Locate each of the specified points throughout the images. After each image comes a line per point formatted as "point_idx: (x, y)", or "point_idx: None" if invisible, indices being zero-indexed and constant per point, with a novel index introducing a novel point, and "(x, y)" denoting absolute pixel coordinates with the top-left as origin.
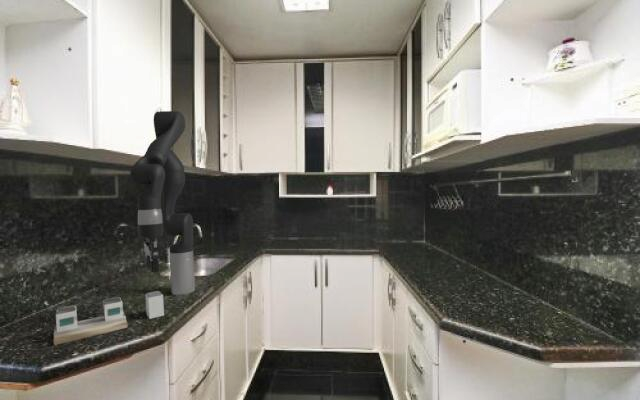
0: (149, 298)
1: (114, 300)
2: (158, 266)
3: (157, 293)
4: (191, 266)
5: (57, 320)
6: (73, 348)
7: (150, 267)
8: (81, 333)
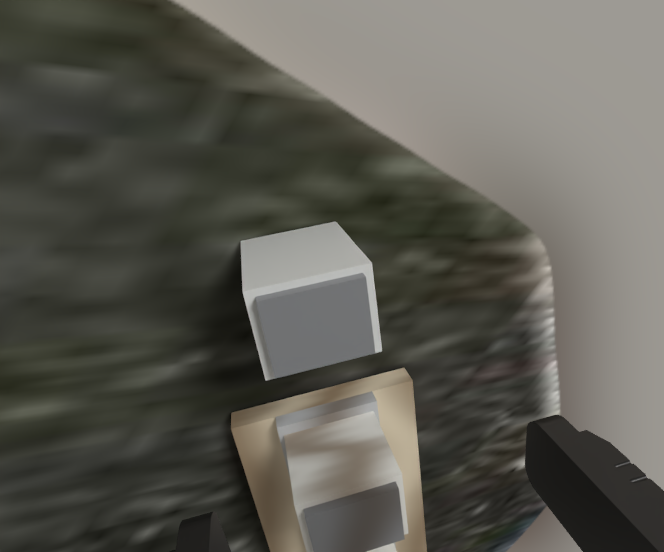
0: (379, 343)
1: (380, 516)
2: (604, 461)
3: (342, 305)
4: None
5: None
6: (478, 480)
7: (224, 543)
8: (421, 501)
